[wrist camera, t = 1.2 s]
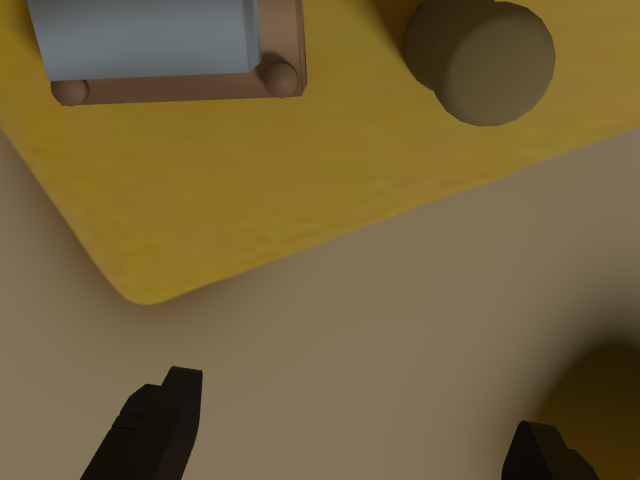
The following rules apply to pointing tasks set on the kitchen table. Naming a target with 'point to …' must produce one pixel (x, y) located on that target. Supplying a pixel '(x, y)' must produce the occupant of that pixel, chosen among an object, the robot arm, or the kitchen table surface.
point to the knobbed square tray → (170, 49)
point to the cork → (480, 58)
